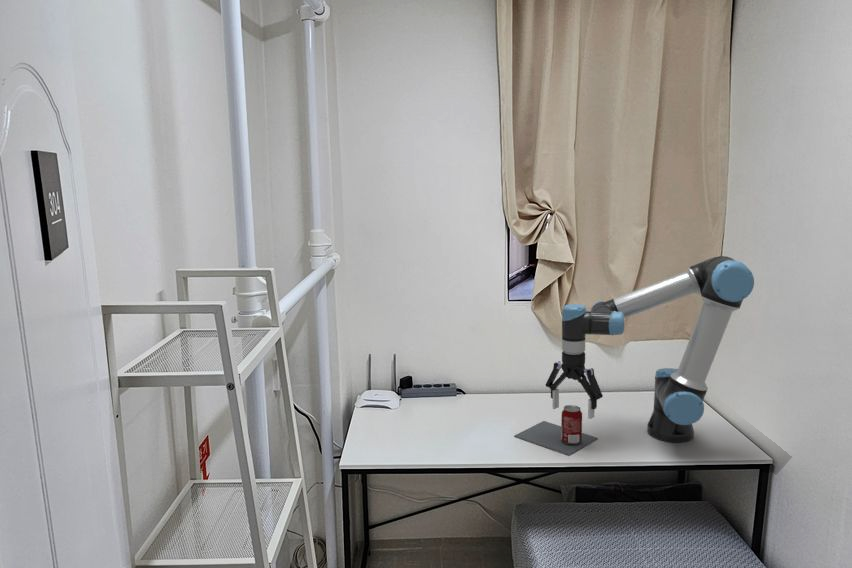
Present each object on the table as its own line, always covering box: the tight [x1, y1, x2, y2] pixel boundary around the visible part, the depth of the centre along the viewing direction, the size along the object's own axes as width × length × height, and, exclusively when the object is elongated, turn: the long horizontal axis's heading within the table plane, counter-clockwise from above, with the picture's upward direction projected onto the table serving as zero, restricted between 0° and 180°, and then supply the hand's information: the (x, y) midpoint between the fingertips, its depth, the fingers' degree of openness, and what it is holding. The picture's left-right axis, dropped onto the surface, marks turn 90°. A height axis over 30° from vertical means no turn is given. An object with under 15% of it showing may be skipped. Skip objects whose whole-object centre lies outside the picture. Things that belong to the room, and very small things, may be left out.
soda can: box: [560, 404, 583, 445], centre depth 211 cm, size 7×7×12 cm
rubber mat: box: [513, 420, 599, 457], centre depth 216 cm, size 22×18×1 cm
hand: (573, 412), depth 210 cm, fingers open, 13 cm apart
